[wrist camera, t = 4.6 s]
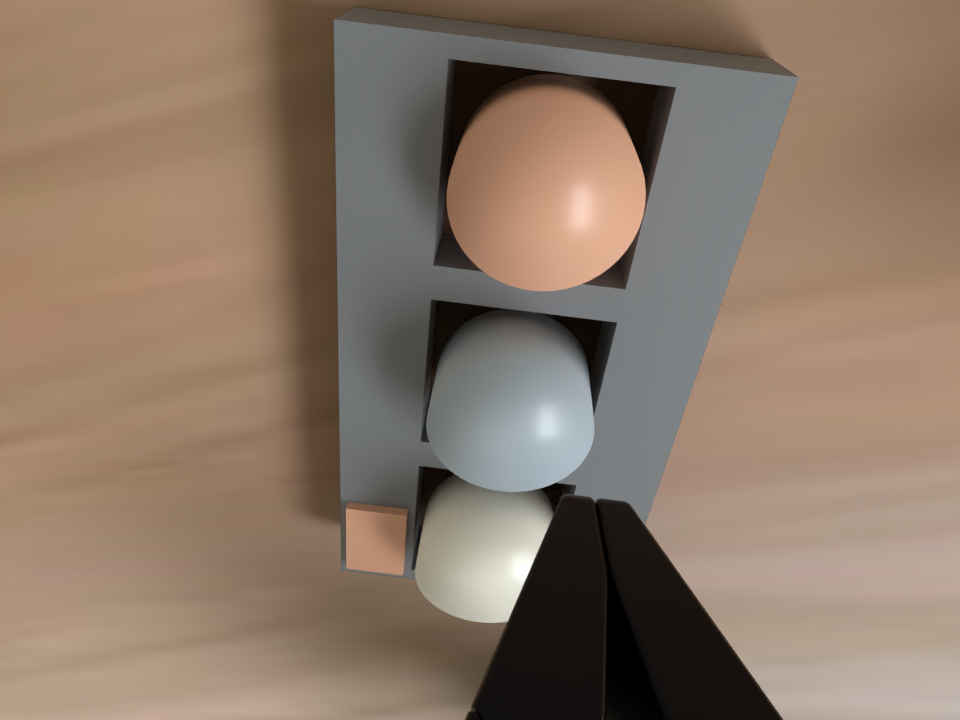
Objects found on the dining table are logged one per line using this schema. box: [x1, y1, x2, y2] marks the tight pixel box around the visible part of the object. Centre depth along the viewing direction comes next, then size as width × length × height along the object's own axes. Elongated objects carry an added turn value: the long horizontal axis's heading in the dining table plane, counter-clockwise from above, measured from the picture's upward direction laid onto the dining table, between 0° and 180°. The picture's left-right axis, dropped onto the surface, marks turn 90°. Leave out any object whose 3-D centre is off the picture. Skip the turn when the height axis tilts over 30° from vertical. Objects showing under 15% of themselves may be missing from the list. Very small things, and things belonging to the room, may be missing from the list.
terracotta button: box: [447, 74, 646, 291], centre depth 16 cm, size 4×4×3 cm
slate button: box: [426, 309, 594, 492], centre depth 19 cm, size 4×4×3 cm
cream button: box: [415, 475, 554, 623], centre depth 23 cm, size 4×4×3 cm
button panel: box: [334, 7, 799, 579], centre depth 21 cm, size 18×10×2 cm, turn 174°
